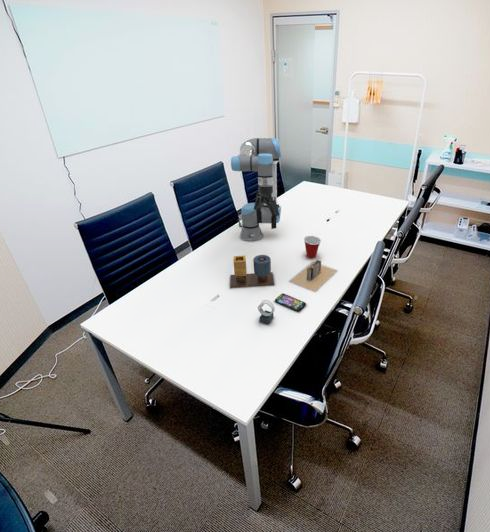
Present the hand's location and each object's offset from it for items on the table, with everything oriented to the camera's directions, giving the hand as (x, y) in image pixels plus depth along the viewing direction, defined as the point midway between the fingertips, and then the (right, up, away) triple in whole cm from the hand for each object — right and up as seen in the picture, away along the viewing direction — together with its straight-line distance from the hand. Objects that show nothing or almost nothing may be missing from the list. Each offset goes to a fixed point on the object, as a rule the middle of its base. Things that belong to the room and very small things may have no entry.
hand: (266, 225), depth 179 cm
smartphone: (+13, -41, -8) cm, 44 cm away
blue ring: (-3, -25, +6) cm, 25 cm away
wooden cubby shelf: (-14, -25, +5) cm, 30 cm away
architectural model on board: (+27, -28, +13) cm, 40 cm away
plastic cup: (+27, -15, +32) cm, 45 cm away
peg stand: (-9, -30, +8) cm, 32 cm away
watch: (+1, -48, -19) cm, 51 cm away
